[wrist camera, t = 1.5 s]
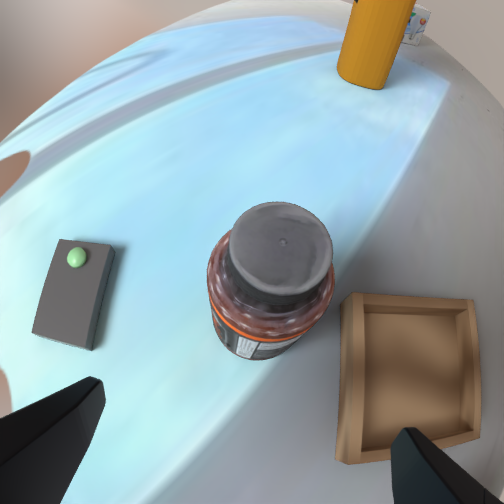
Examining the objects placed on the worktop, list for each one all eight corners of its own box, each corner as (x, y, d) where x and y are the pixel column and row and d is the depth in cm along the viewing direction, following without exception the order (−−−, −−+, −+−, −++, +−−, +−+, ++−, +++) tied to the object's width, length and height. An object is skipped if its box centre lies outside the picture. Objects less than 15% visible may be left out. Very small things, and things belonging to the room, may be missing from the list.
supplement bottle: (210, 285, 22) (198, 182, 12) (290, 278, 23) (335, 177, 13) (217, 367, 20) (207, 327, 10) (304, 356, 21) (375, 306, 11)
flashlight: (456, -49, 14) (375, -84, 14) (397, 102, 37) (331, 84, 37) (425, -58, 19) (357, -82, 19) (382, 70, 42) (325, 55, 41)
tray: (460, 438, 17) (479, 437, 15) (335, 458, 17) (347, 464, 15) (456, 309, 23) (473, 299, 21) (340, 303, 22) (352, 292, 20)
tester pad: (91, 350, 19) (82, 346, 18) (39, 336, 19) (28, 331, 18) (115, 252, 23) (108, 242, 22) (65, 245, 23) (57, 236, 21)
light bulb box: (387, 40, 51) (400, 1, 41) (370, 28, 54) (381, -9, 44) (418, 46, 53) (432, 12, 43) (402, 34, 56) (414, 1, 46)
